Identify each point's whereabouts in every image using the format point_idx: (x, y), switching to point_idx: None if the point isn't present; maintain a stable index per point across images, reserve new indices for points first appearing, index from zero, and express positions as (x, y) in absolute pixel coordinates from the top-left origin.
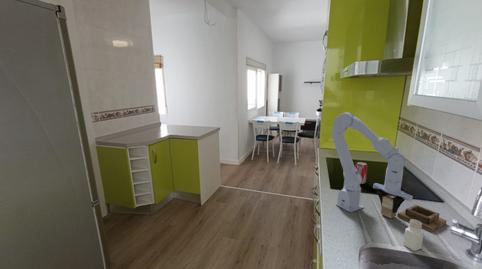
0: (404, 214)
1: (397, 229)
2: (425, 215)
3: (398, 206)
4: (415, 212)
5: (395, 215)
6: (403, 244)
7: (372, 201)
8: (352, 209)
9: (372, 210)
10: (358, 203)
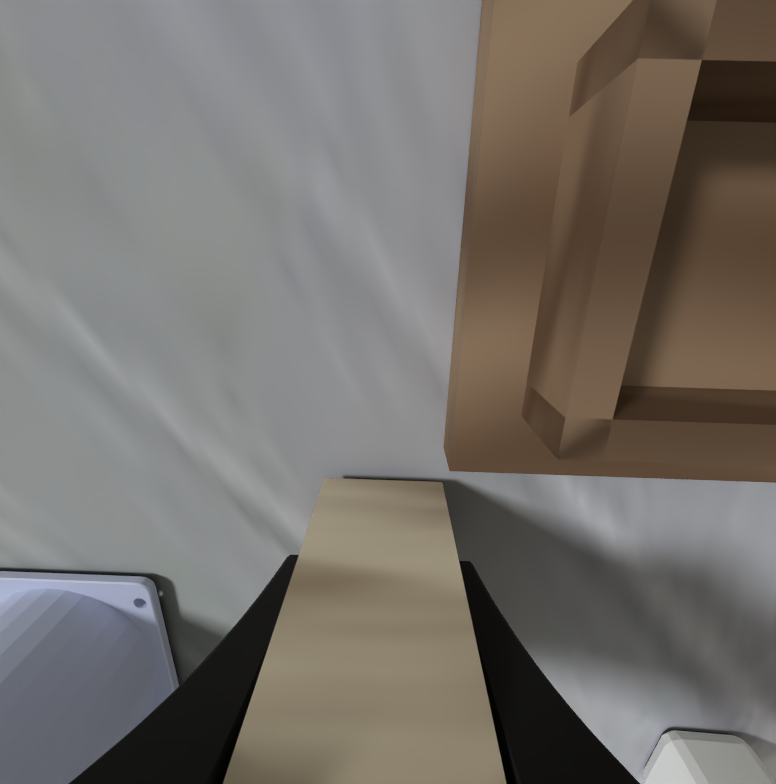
0: (517, 423)
1: (547, 653)
2: (761, 141)
3: (507, 652)
4: (714, 447)
5: (442, 496)
6: (644, 777)
7: (35, 324)
8: (158, 702)
9: (230, 544)
10: (114, 719)
